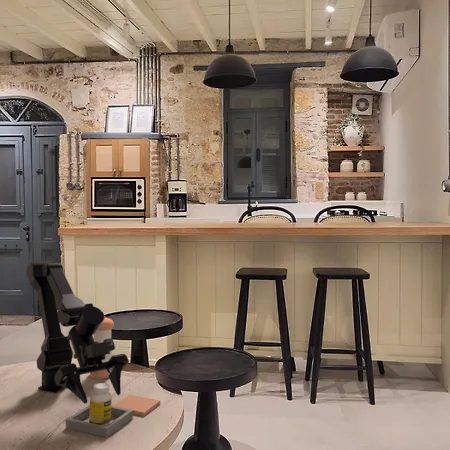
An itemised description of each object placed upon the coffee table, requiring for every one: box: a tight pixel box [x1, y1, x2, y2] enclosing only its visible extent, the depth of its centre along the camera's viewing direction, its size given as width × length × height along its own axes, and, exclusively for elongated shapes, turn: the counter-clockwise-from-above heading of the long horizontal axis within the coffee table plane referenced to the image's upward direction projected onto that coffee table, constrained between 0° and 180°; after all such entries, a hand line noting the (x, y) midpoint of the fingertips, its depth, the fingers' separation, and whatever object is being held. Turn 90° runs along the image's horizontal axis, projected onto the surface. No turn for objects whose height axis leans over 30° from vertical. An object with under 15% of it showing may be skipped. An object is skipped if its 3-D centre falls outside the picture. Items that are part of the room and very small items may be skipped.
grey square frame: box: [65, 404, 134, 438], centre depth 134 cm, size 12×12×2 cm
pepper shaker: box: [89, 315, 115, 380], centre depth 168 cm, size 7×7×19 cm
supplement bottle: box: [88, 382, 112, 426], centre depth 134 cm, size 5×5×10 cm
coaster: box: [112, 394, 161, 417], centre depth 145 cm, size 10×9×1 cm
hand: (103, 398), depth 133 cm, fingers open, 9 cm apart
